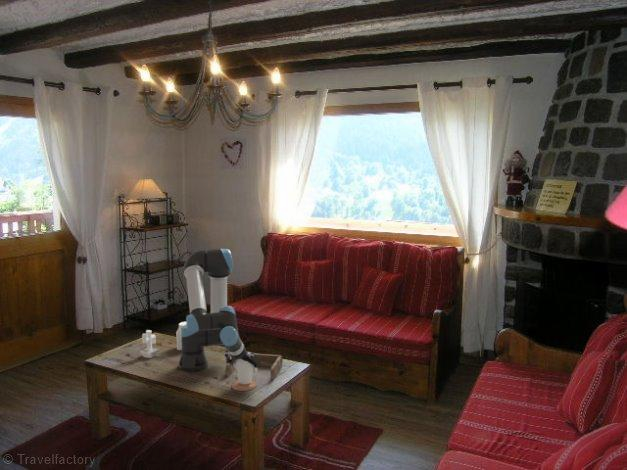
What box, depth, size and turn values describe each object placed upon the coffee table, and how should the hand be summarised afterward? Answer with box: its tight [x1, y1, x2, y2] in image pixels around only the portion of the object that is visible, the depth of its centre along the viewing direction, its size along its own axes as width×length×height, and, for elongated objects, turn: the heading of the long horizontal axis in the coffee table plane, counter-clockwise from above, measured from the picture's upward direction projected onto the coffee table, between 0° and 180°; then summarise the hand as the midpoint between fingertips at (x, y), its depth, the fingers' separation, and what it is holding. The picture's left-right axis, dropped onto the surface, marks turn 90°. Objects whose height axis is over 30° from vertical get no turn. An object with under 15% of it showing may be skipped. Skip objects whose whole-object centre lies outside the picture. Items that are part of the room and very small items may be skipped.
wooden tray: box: [225, 352, 283, 381], centre depth 263 cm, size 18×25×6 cm
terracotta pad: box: [231, 379, 257, 392], centre depth 246 cm, size 12×12×1 cm
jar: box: [175, 321, 187, 351], centre depth 295 cm, size 12×10×15 cm
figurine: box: [140, 329, 160, 359], centre depth 282 cm, size 7×9×15 cm
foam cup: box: [235, 351, 254, 384], centre depth 246 cm, size 10×9×13 cm
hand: (247, 368), depth 249 cm, fingers closed on foam cup, 9 cm apart
